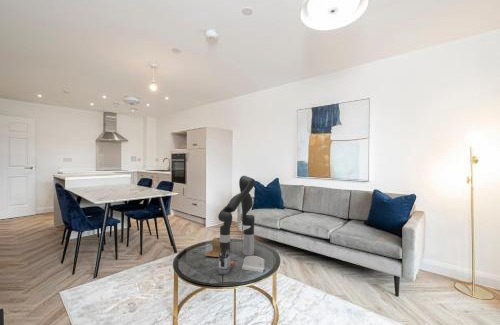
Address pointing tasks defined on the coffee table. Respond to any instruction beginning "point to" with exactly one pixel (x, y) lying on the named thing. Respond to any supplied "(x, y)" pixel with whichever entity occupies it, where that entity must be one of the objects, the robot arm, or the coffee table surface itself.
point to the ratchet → (226, 271)
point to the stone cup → (214, 248)
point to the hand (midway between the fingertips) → (224, 264)
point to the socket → (225, 262)
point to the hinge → (254, 263)
